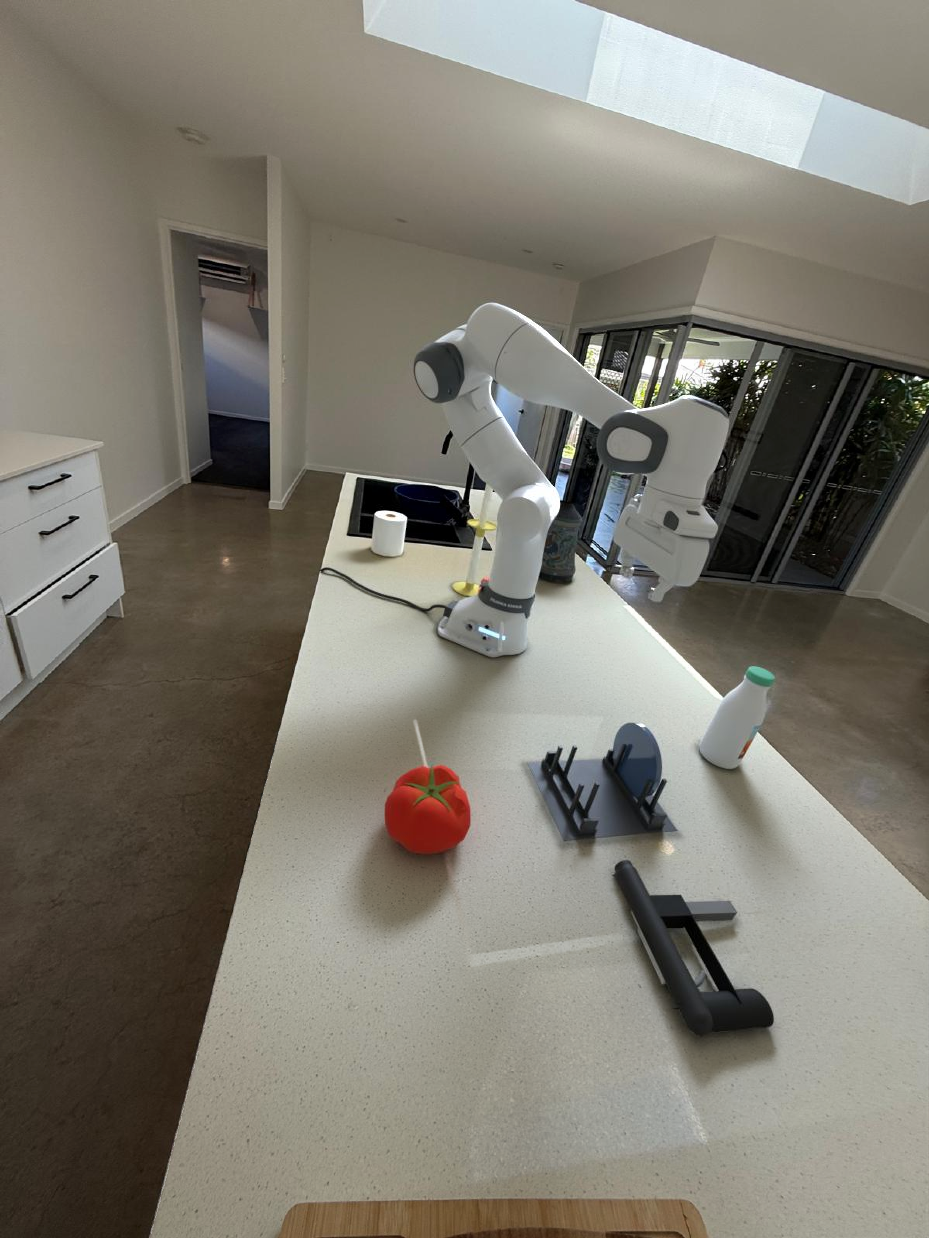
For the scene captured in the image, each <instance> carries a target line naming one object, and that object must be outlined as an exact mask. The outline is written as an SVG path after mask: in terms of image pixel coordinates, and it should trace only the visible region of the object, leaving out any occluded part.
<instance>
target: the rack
mask: <svg viewBox="0 0 929 1238" xmlns="http://www.w3.org/2000/svg"><path fill="white" fill-rule="evenodd" d="M626 748H627V745H626V744H622V747H621V749H620V752H619V754H618V756H617V759H616V761H615V764H614V762H613V748H609V749H608V750H607V752H606V755H604V756H603V759H601V758H600V759H599V758H598V759H577V760H574V758H575V756H576V753H577V750H578V746H577V745H573V744H572V747H571V749H570V752H569V755H568V758H567V760H561V757H562V756H561V755H562V752H563V749H564V747H563V745H558V746H557V749H556V750H547V751H546V755H545V756H544V757H545V758H542V760H541V761H527V762H526V763H527V767H528V768H529V770H530V772H531V774H532V776H533V779H534V780H535V782H536V785H537V787H538V789H539V791H540V793H541V795H542V798H543V800H544V802H545V804H546V806H547V809H548V810H549V813H550V815H551V817H552V820H554V823H555V825H556V827H557V830H558V832H559V834H560V836H561V838H562V841H563V842H567V841H579V840H590V839H600V838H613V837H621V836H622V837H623V836H634V835H646V834H657V833H667V832H668V833H669V832H677V831H678V829H677V827H676V826H675V825H674V823H673V822H672V820H671V819H670V818H669V816H668V814H667V813H666V812H665V810H664V809H663V808H662V806H661V805H660V804H659V802H658V801H659V799H660V797H661V795H662V793H663V791H664V789H665V787H666V785H667V783H668V780H667V779H666V778H661V780H660V784H659V786H658V788H657V790H656V791H655V792H654V794H652V795H651V796H649V797H646V796H647V794H648V792H649V790H650V788H651V786H652V783H653V781H652V780H651V779H648V781H647V783H646V785H645V787H644V789H643V792H642V794H641V796H640V798H637V797H634V796H632V794H631V793H630V791H629V790H628V788H627V787H626V785H625V784H624V782H623V781H622V779H621V778H620V776H619V775H618V773H617V769H618V767H619V764H620V762H621V760H622V757H623V755H624V753H625V750H626Z"/></svg>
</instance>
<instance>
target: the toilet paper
mask: <svg viewBox="0 0 929 1238" xmlns="http://www.w3.org/2000/svg"><path fill="white" fill-rule="evenodd" d="M407 523H408V517H407V516H406V515H405V514H403V513H400V512H396V511H393V510H391V511H390V510H378V511H376V512H375V513H374V516H373V523H372V524H373V527H372V535H371V544H370V545H371V546H370V551H372V552H373V553H374V554H375V555H376V554H377V555H379V556H383V557H391V558H392V557H393V558H395V557H399V556H402V555H403V552H404V545H405V544H404V543H405V537H406V528H407Z"/></svg>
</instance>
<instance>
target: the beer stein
mask: <svg viewBox="0 0 929 1238" xmlns="http://www.w3.org/2000/svg"><path fill="white" fill-rule="evenodd" d="M559 502H560V506H559V511H558V514H557V516H556V517H555V519H554V520H553V521H552V523H551V525H550V527H549V529H548V532H547V536H546V541H545V546H544V552H543V558H542V565H541V569H540V573H539V577H538V579H540V580H542V581H546V582H550V583H555V584H566V583H569V582H571V581H572V580H573V578H574V574H575V573H576V571H577V569H576V568H577V567H576V549H577V542H578V534H579V532H578V531H579V528H580V526H581V525H582V523H583V518H582V516H581V515H580V513H579V512H578V511H577V509H576V508H575V506H574V503H573V502H572V501H569V500H565V499H559Z"/></svg>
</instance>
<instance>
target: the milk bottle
mask: <svg viewBox="0 0 929 1238" xmlns="http://www.w3.org/2000/svg"><path fill="white" fill-rule="evenodd" d="M775 682H776V677H775V675H774V674H773V673H772V672H770V671H769V670H767V669H765V668H763V667H759V666H754V665H753V666H749V667H748V668H747V669H746V671H745V675H743V681H742V682H740V684H739V685H737V686H736V687H735V688H734V689H732V690H730V691H729V692H728V693H727V694H726V695H725V696H724V697H723V699H722V700H721V701H720V703H719V704H718V707H717V709H716V710H715V713H714V714H713V716H712V717H711V719H710V722H709V724H708V725H707V728H706V730H705V732H704V734H703V735H702V738H701V740H700V742H699V745H698V750H699V753H700V754H701V755H702V757H703V758H704V759H706V760H707V761H708V762H709V763H711V764H713V765H714V766H716V767H719V768H722V769H726V770H732V769H736V768H737V767H739V765H740V764H741V762H742V761H743V759H744V757H745V755H746V754H747V752H748V750H749V748H750V747H751V744H752V743H753V741H754V739H755V738H756V737H757V734H758V732H759V731H760V729H761V727H762V724H763V722H764V720H765V717H766V711H767V694H768V691H769V690H770V689H771V688H772V686H773V684H774V683H775Z"/></svg>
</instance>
